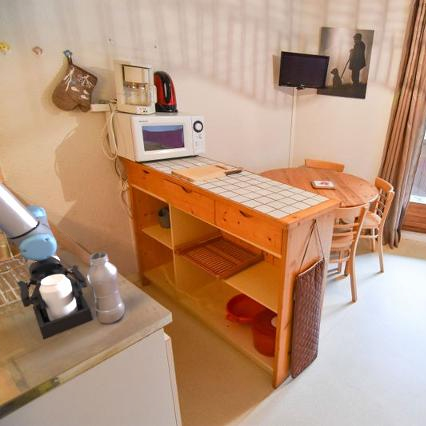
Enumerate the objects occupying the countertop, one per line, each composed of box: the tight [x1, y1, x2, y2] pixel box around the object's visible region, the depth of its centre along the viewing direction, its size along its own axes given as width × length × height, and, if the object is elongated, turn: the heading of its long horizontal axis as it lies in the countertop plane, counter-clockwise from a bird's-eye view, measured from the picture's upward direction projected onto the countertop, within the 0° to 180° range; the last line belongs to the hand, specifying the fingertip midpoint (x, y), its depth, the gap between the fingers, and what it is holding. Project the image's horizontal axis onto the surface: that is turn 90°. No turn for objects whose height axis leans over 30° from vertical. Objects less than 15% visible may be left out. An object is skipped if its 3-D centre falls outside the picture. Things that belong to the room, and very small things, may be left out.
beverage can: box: [39, 274, 78, 321], centre depth 83 cm, size 6×6×12 cm
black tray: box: [32, 294, 94, 340], centre depth 85 cm, size 10×10×4 cm
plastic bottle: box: [86, 251, 126, 324], centre depth 84 cm, size 6×7×20 cm
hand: (62, 306), depth 80 cm, fingers closed on beverage can, 6 cm apart
